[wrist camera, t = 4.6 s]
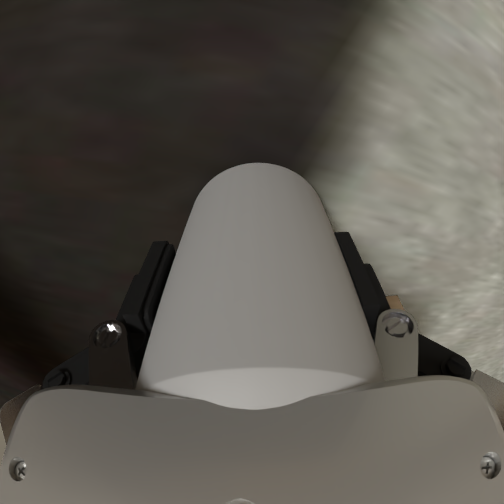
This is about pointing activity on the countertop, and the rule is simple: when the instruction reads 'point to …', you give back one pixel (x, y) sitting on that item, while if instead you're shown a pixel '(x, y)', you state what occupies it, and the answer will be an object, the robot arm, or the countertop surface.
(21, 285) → the countertop surface
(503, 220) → the countertop surface
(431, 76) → the countertop surface
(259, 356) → the beverage can
